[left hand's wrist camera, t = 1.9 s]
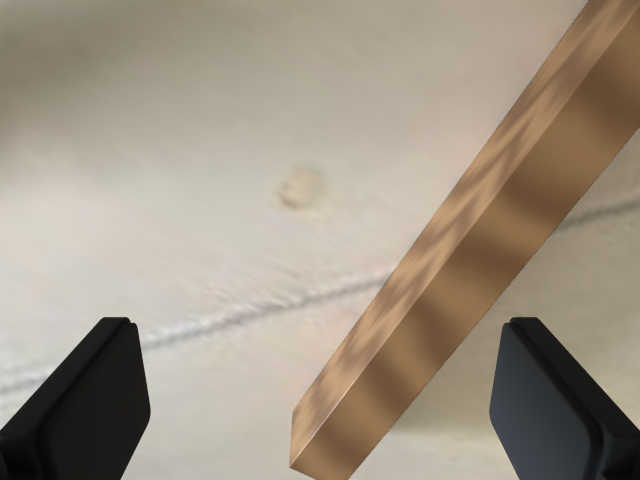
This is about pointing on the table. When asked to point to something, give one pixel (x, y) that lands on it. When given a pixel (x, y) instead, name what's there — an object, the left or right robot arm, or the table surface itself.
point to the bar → (477, 239)
